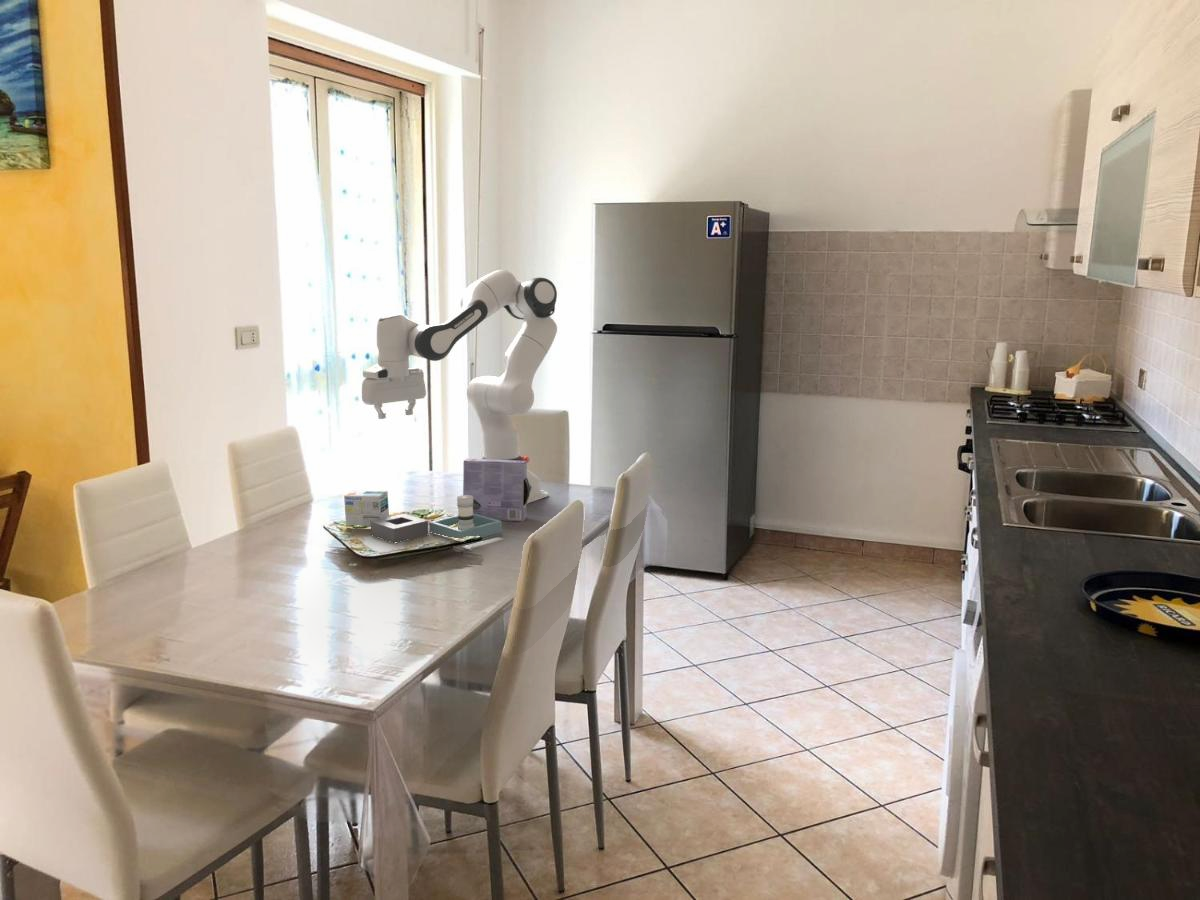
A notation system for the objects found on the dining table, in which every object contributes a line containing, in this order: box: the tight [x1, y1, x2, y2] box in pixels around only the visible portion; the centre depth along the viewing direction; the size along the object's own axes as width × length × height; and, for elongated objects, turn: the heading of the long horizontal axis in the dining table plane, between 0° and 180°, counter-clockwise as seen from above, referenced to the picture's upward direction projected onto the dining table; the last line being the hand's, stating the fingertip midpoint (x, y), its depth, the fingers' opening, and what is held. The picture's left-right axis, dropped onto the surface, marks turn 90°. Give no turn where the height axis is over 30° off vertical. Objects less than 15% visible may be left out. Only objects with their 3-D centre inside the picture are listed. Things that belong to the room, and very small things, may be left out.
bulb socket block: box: [370, 513, 429, 544], centre depth 255 cm, size 11×11×5 cm
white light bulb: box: [456, 494, 474, 530], centre depth 256 cm, size 4×4×10 cm
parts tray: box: [428, 513, 503, 547], centre depth 257 cm, size 14×14×4 cm
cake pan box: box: [462, 458, 530, 522], centre depth 273 cm, size 19×5×18 cm, turn 84°
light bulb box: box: [343, 489, 390, 527], centre depth 263 cm, size 11×7×11 cm, turn 84°
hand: (395, 416), depth 276 cm, fingers open, 8 cm apart
